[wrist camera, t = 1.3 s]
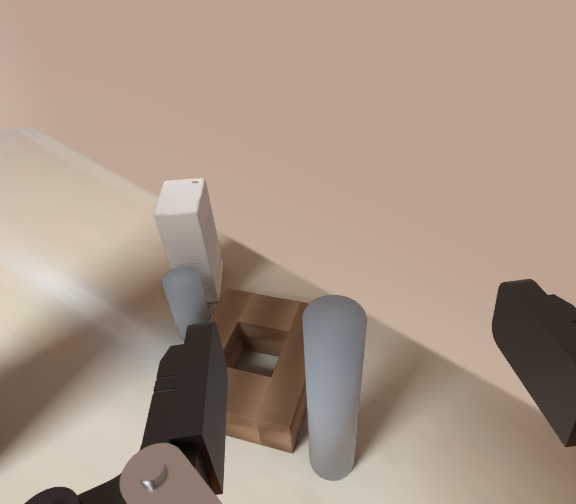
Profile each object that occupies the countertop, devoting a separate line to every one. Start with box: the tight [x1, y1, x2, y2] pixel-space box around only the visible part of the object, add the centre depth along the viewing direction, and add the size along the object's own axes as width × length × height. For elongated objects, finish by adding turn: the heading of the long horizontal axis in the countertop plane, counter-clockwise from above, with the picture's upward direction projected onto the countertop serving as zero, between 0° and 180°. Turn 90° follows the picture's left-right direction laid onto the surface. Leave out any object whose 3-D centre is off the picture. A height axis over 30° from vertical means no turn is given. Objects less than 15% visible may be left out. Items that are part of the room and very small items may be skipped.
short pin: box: [162, 266, 210, 341], centre depth 42 cm, size 3×3×7 cm
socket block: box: [208, 289, 309, 453], centre depth 39 cm, size 10×12×4 cm
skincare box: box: [154, 178, 223, 303], centre depth 45 cm, size 6×4×12 cm
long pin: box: [303, 295, 367, 481], centre depth 29 cm, size 3×3×16 cm
